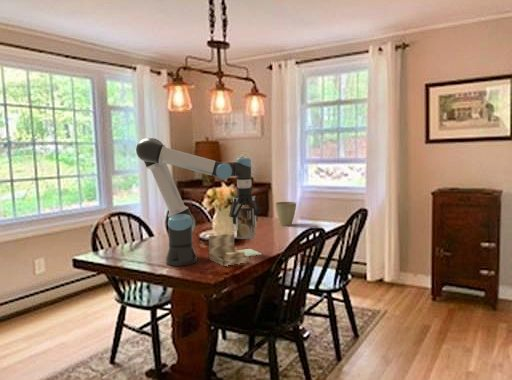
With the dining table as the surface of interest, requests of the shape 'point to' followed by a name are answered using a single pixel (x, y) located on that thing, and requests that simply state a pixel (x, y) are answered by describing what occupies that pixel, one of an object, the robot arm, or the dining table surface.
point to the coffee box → (245, 223)
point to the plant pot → (286, 212)
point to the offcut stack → (234, 255)
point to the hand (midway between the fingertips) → (245, 228)
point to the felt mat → (250, 252)
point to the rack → (223, 249)
